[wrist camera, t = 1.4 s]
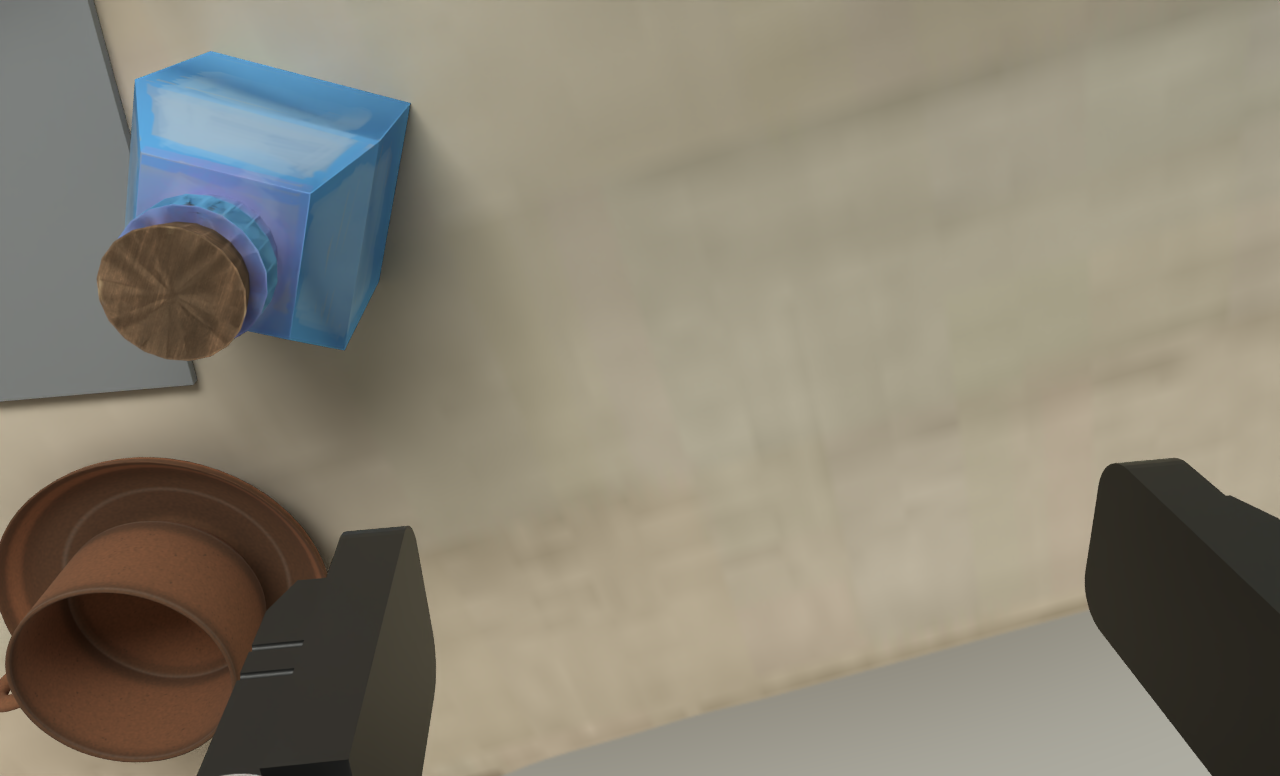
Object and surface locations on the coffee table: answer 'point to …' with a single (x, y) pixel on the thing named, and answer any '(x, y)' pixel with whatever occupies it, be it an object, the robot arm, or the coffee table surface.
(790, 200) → the coffee table surface
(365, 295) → the perfume bottle
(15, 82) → the mat
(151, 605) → the cup and saucer
